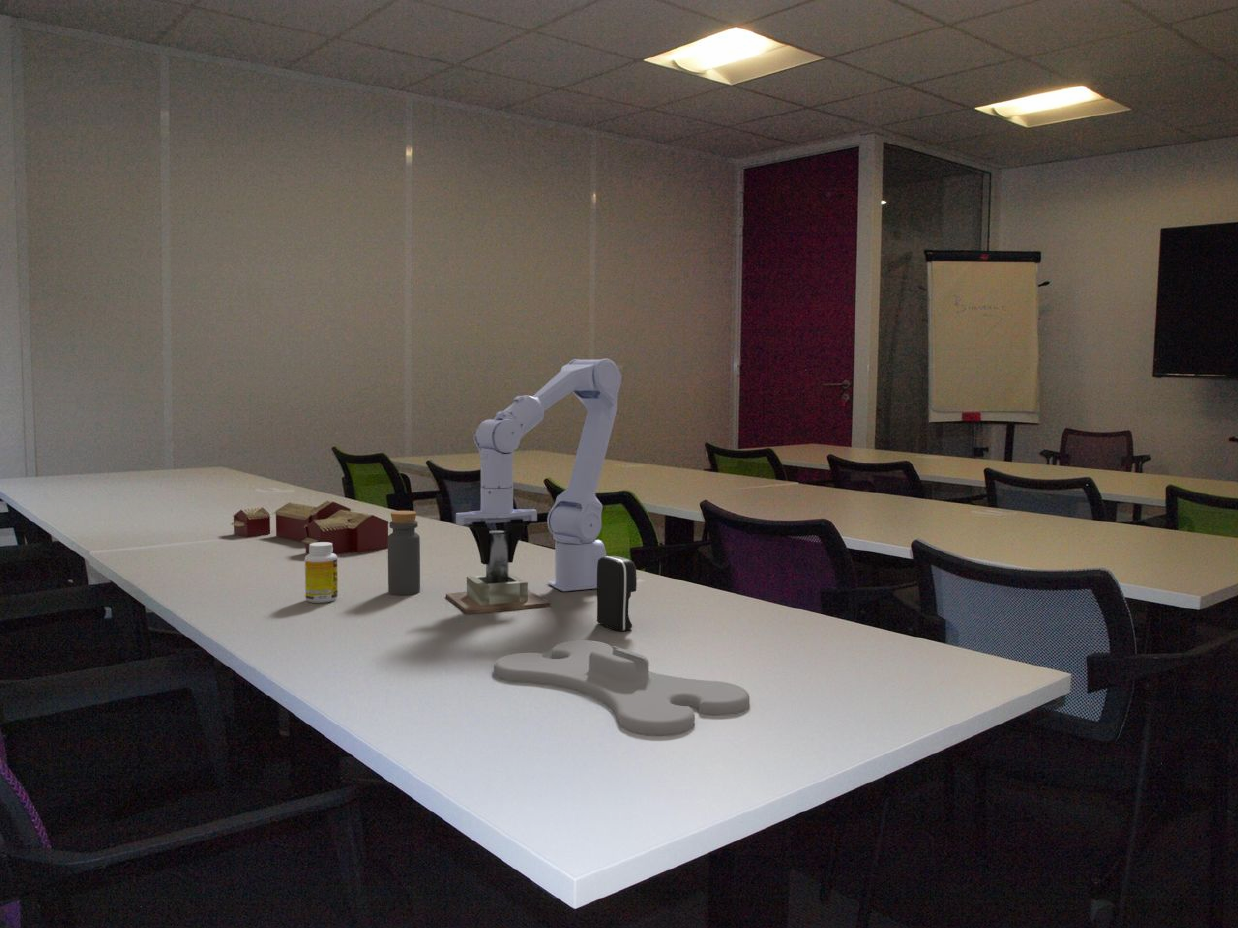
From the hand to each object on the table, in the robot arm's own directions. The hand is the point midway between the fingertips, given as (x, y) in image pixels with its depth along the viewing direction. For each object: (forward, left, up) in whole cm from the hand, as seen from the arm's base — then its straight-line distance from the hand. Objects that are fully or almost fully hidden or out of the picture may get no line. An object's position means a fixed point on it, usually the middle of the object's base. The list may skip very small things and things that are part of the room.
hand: (496, 562), depth 169 cm
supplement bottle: (+28, -13, -7) cm, 32 cm away
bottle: (+13, -14, -7) cm, 21 cm away
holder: (0, +51, -8) cm, 52 cm away
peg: (0, 0, -3) cm, 4 cm away
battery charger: (-13, +24, -7) cm, 28 cm away
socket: (0, 0, -7) cm, 7 cm away
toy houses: (+23, -78, -8) cm, 81 cm away
